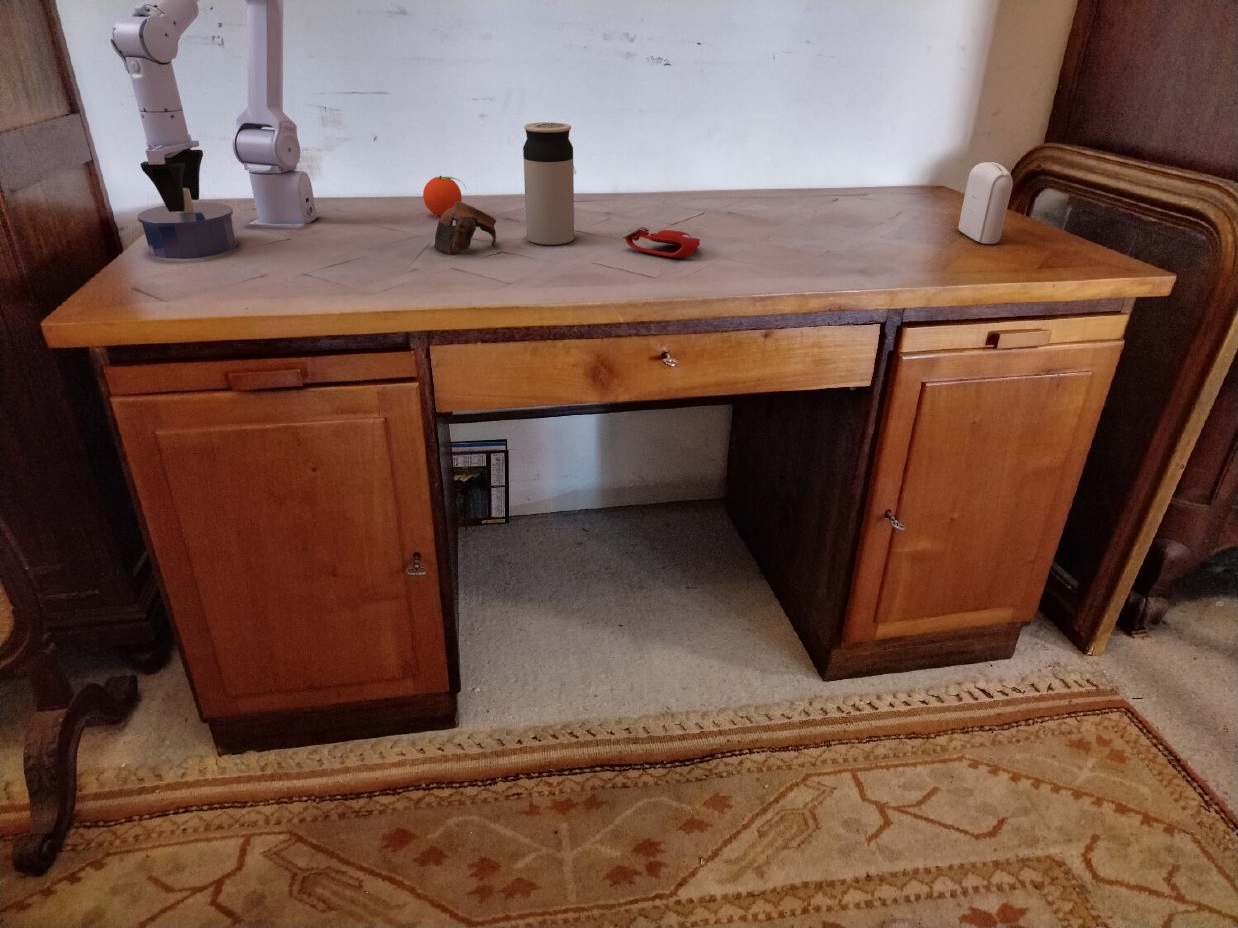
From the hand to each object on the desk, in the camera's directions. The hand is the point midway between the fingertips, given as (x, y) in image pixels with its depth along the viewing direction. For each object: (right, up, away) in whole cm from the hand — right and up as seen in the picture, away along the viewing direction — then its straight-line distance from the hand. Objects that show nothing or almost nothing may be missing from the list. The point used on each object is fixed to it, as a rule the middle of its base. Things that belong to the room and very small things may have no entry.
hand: (184, 205), depth 127 cm
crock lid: (0, -1, +1) cm, 2 cm away
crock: (0, -6, +3) cm, 7 cm away
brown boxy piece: (+42, -5, +7) cm, 43 cm away
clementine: (+35, +6, +26) cm, 44 cm away
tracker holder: (+74, -5, +7) cm, 75 cm away
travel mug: (+55, -2, +12) cm, 57 cm away
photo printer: (+130, 0, +18) cm, 131 cm away
